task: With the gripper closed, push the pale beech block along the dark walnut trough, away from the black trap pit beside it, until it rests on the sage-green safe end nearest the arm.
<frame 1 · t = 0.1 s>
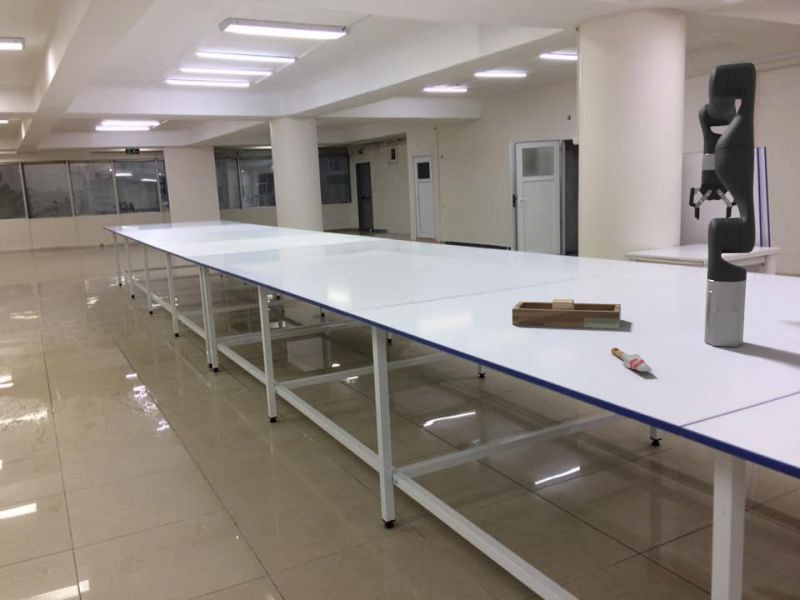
hand: (712, 219, 204), 29 cm above the table, fingers open, 8 cm apart
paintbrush: (629, 365, 155), on the table
beech block: (563, 312, 200), point 3 cm above the table, touching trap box
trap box: (566, 322, 200), on the table
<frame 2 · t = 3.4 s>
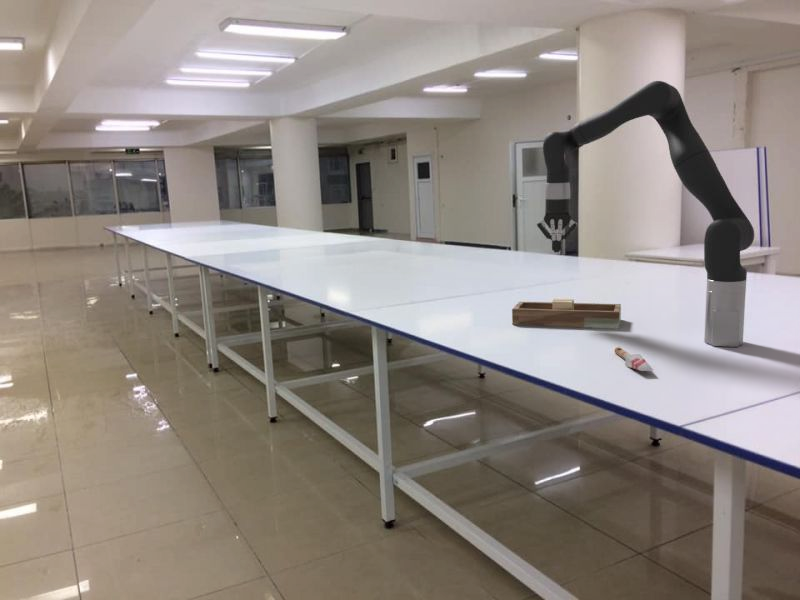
hand: (556, 252, 202), 22 cm above the table, fingers closed
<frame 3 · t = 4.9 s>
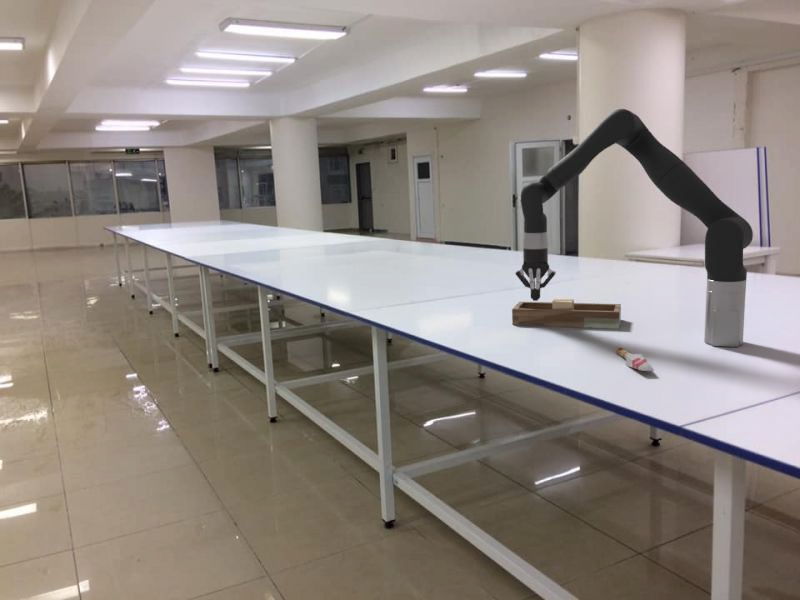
hand: (535, 300, 203), 7 cm above the table, fingers closed
nothing on the table moved.
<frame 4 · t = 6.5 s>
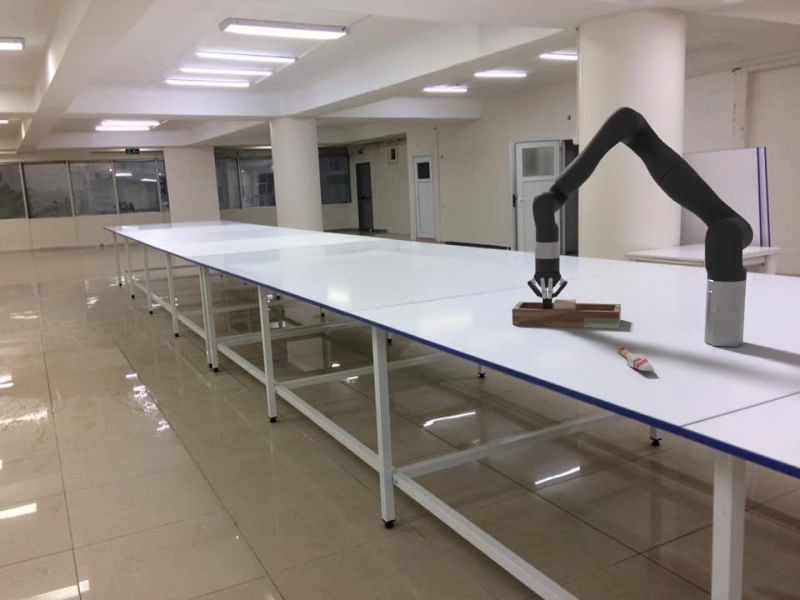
hand: (547, 309, 201), 4 cm above the table, fingers closed
beech block: (564, 312, 200), point 3 cm above the table, touching gripper, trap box
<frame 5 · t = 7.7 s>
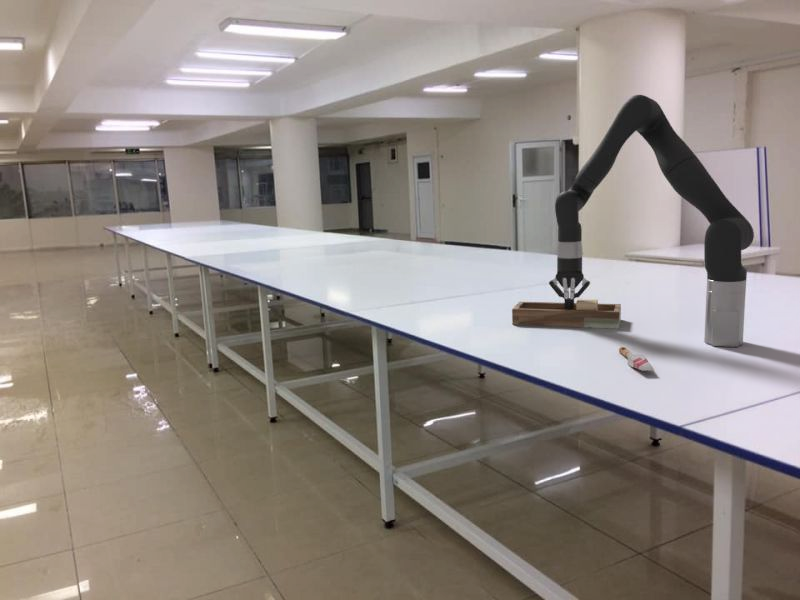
hand: (569, 310, 199), 4 cm above the table, fingers closed
beech block: (587, 313, 198), point 3 cm above the table, touching gripper
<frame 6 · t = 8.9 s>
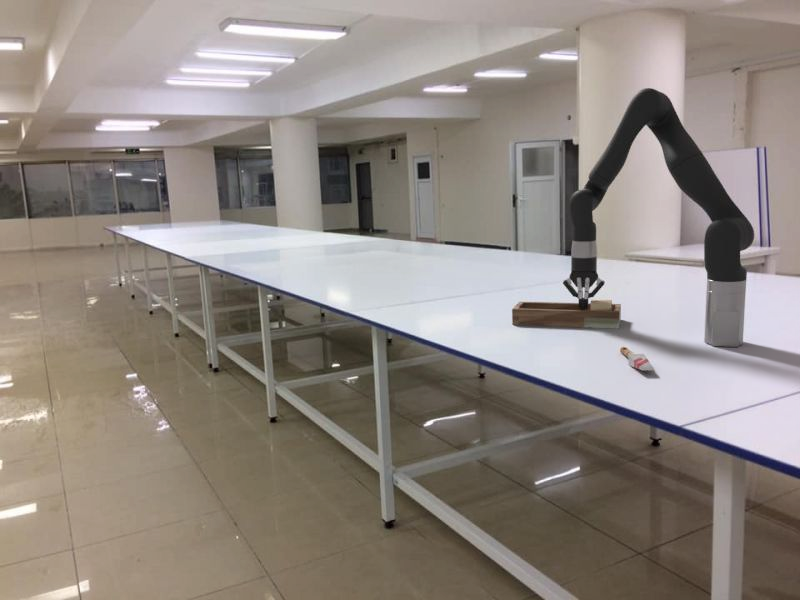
hand: (583, 310, 198), 4 cm above the table, fingers closed
beech block: (601, 313, 196), point 3 cm above the table, touching gripper, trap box
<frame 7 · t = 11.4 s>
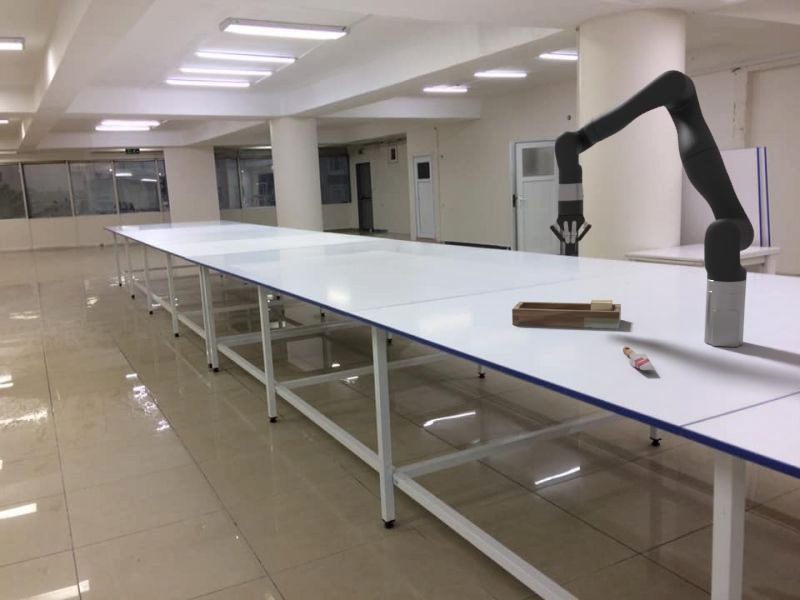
hand: (570, 255, 196), 21 cm above the table, fingers closed
beech block: (601, 313, 196), point 3 cm above the table, touching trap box
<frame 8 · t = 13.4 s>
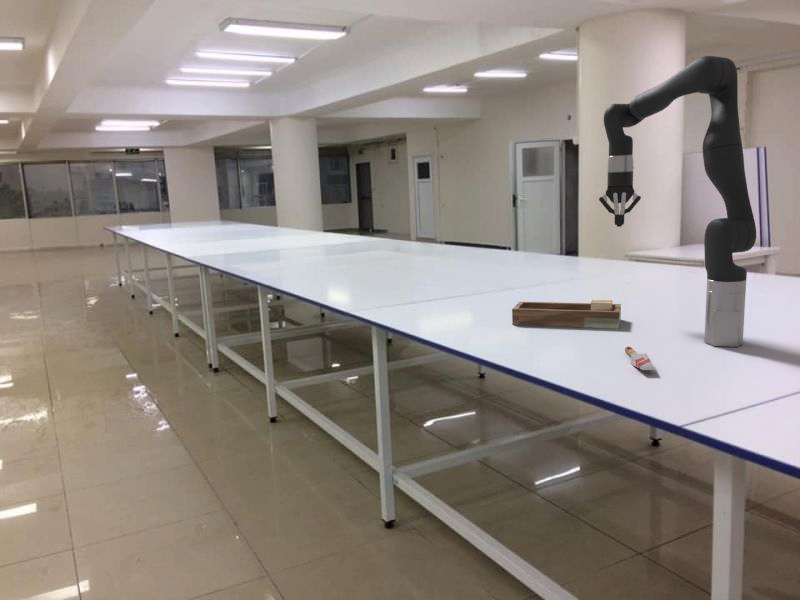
hand: (619, 226, 199), 29 cm above the table, fingers closed
at the end: beech block inside the target area on the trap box (1.1 cm from its centre), point 3.0 cm above the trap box's base; beech block tilted 0° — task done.
